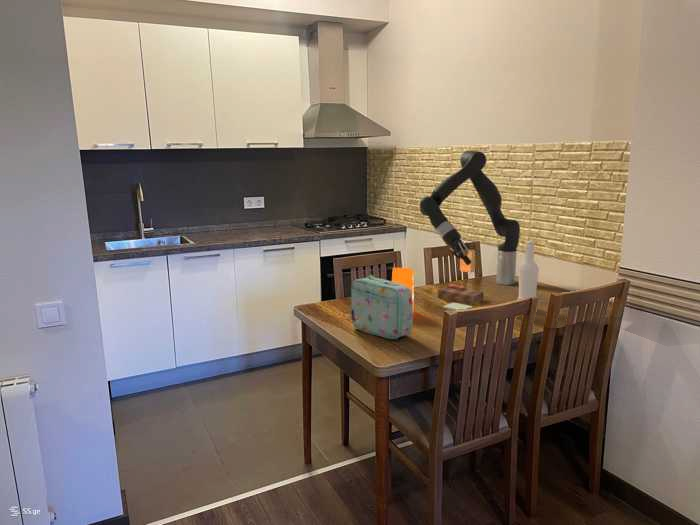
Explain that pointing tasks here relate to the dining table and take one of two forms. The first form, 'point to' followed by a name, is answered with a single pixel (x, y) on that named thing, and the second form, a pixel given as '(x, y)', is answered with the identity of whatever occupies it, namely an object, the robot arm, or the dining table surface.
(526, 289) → the bottle
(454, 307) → the pad
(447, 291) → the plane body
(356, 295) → the lunch box
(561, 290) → the dining table surface
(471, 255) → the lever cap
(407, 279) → the orange juice
